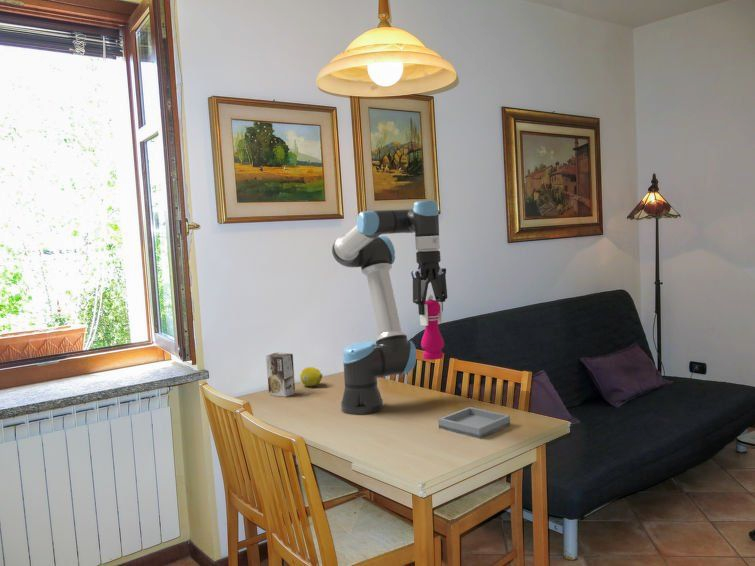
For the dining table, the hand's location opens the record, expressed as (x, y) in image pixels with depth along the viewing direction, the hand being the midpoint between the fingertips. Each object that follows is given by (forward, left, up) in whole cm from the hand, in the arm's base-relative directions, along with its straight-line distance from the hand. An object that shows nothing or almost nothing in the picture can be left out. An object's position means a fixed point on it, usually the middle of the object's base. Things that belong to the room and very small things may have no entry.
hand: (431, 323), depth 196 cm
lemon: (-75, +9, -34) cm, 83 cm away
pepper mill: (0, 0, -11) cm, 11 cm away
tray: (+10, +8, -33) cm, 36 cm away
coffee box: (-75, -6, -34) cm, 83 cm away
